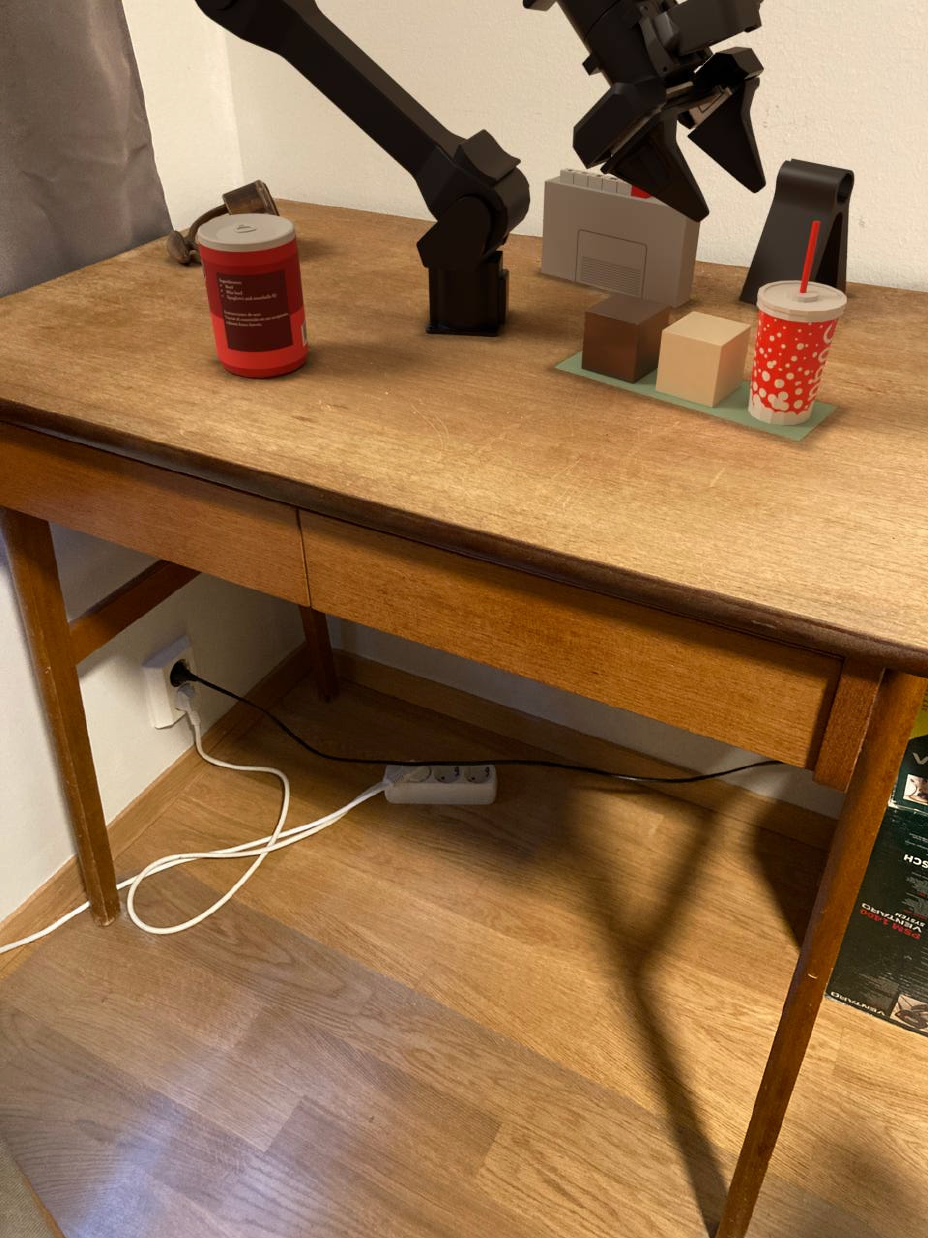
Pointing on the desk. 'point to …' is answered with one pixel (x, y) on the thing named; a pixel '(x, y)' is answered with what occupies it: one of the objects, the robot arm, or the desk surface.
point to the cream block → (702, 358)
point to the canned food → (254, 293)
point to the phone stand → (803, 228)
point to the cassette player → (617, 238)
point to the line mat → (727, 409)
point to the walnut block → (623, 337)
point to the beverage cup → (792, 344)
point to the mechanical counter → (235, 202)
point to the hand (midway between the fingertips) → (733, 203)
